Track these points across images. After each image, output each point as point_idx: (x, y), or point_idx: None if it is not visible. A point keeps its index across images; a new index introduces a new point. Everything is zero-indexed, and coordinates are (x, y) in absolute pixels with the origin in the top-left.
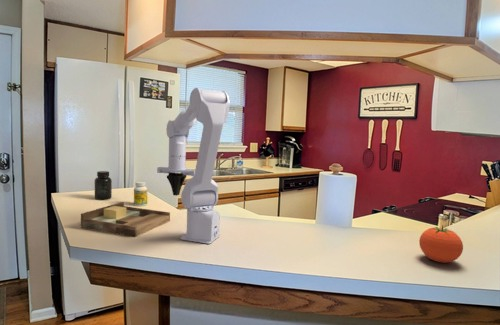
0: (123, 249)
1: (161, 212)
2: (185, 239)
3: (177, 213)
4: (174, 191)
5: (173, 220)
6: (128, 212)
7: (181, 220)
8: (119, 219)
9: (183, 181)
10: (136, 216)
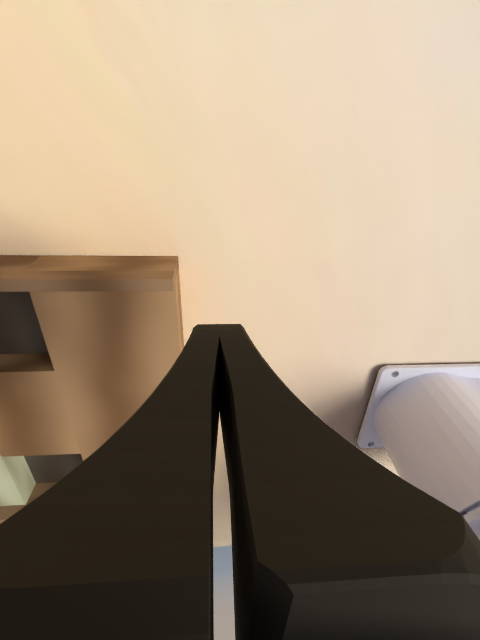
0: (231, 534)
1: (106, 288)
2: (378, 445)
3: (87, 7)
4: (221, 423)
5: (192, 237)
6: None
7: (240, 213)
8: (2, 445)
9: (340, 446)
10: (17, 378)
